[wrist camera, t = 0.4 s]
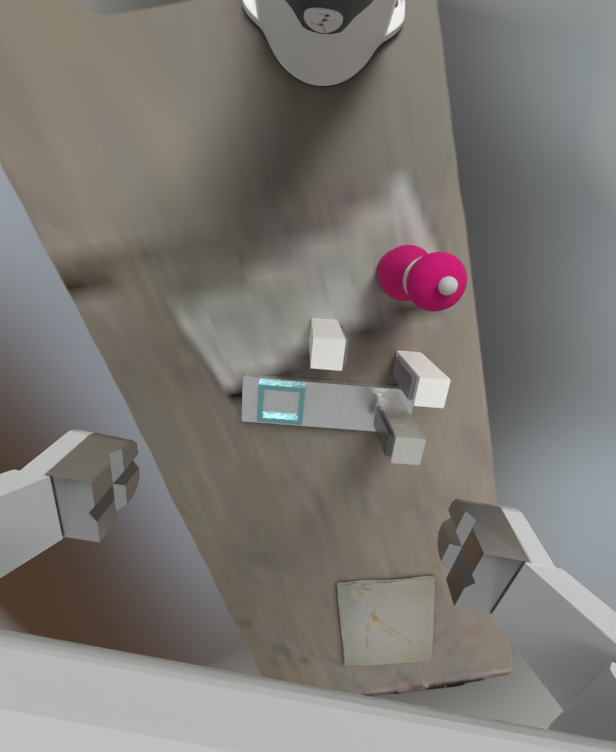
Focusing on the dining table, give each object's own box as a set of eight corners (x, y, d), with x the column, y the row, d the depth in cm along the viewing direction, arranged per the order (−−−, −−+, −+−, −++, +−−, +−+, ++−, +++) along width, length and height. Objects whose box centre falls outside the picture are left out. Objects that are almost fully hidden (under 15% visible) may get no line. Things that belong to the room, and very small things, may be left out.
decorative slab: (332, 578, 74) (332, 587, 72) (432, 568, 73) (436, 576, 71) (344, 661, 84) (345, 670, 82) (433, 652, 83) (436, 662, 81)
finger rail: (244, 373, 57) (227, 410, 44) (413, 387, 58) (444, 427, 45) (243, 417, 60) (226, 463, 47) (404, 429, 61) (431, 478, 48)
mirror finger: (392, 350, 56) (415, 377, 45) (421, 352, 56) (450, 379, 45) (388, 373, 57) (409, 405, 46) (416, 375, 57) (443, 408, 46)
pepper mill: (423, 242, 50) (494, 242, 31) (421, 293, 53) (486, 321, 34) (372, 247, 50) (413, 249, 32) (373, 298, 53) (411, 327, 34)
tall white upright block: (311, 317, 54) (313, 337, 43) (341, 320, 54) (350, 340, 43) (309, 342, 55) (310, 368, 44) (338, 345, 55) (346, 371, 44)
